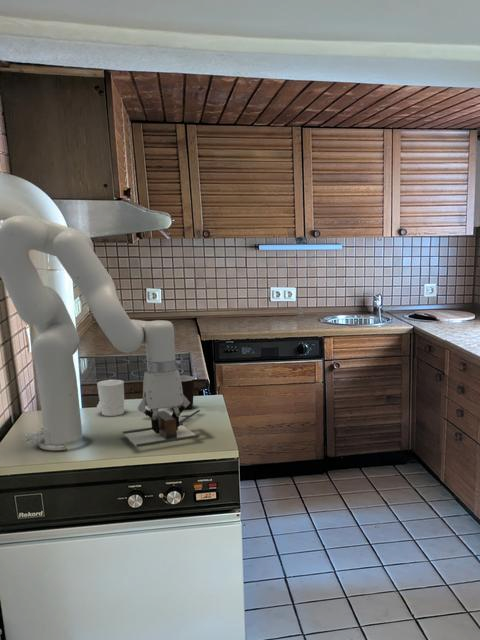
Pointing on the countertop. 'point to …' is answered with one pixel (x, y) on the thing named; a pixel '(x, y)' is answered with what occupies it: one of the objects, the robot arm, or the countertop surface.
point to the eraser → (167, 425)
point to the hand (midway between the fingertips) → (165, 430)
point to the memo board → (156, 436)
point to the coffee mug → (188, 389)
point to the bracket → (186, 416)
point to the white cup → (111, 397)
